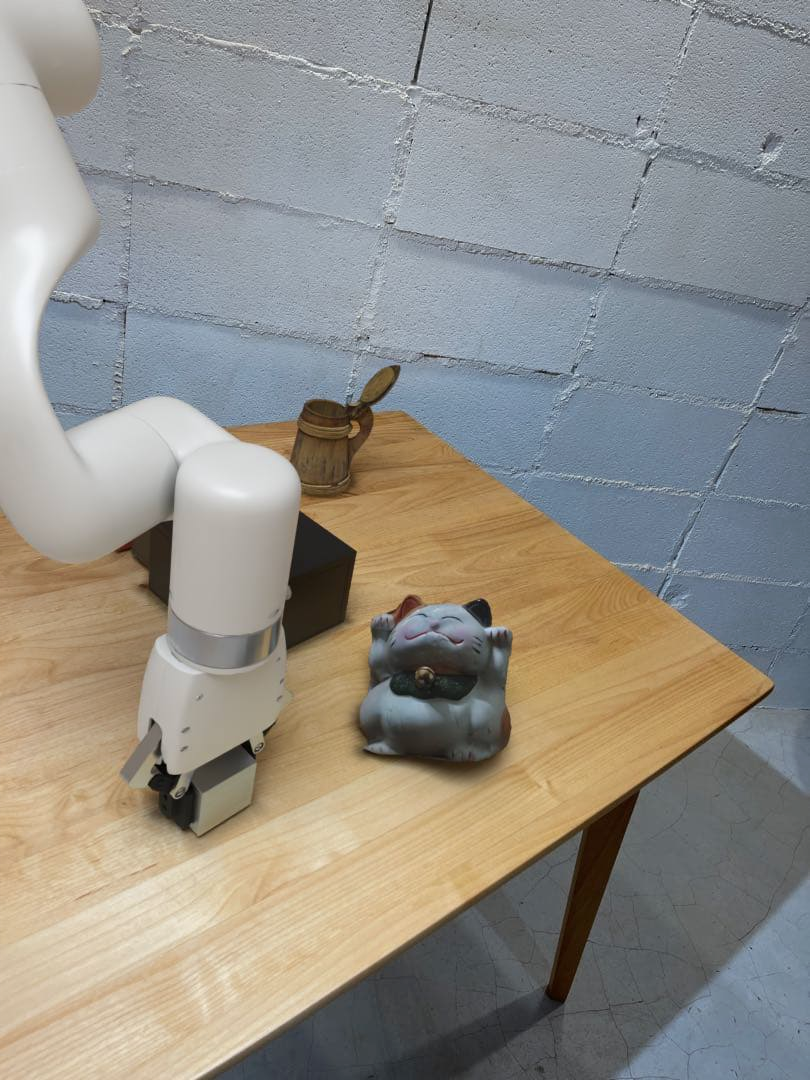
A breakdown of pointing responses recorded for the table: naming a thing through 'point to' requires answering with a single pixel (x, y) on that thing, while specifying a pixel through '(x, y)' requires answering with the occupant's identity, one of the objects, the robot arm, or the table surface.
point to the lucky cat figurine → (437, 682)
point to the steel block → (221, 788)
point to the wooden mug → (335, 435)
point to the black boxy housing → (312, 579)
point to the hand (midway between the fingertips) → (206, 795)
